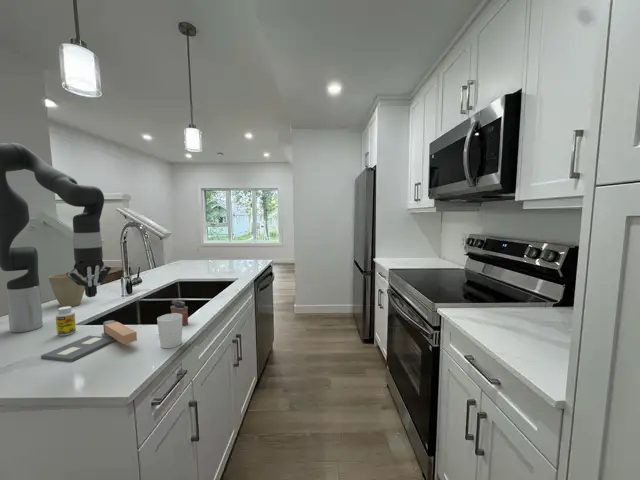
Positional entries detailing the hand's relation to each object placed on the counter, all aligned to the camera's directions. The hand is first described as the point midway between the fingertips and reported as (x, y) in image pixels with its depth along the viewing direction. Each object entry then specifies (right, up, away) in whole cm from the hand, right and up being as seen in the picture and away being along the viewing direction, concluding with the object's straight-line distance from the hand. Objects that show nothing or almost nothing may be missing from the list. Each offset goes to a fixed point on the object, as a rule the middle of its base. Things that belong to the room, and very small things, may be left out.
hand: (91, 296), depth 100 cm
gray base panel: (-4, -18, +4) cm, 19 cm away
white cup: (+25, -18, +5) cm, 31 cm away
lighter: (+19, -16, +24) cm, 35 cm away
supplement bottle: (-21, -17, +15) cm, 31 cm away
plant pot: (-50, -15, +51) cm, 73 cm away
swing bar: (+5, -16, +7) cm, 18 cm away
